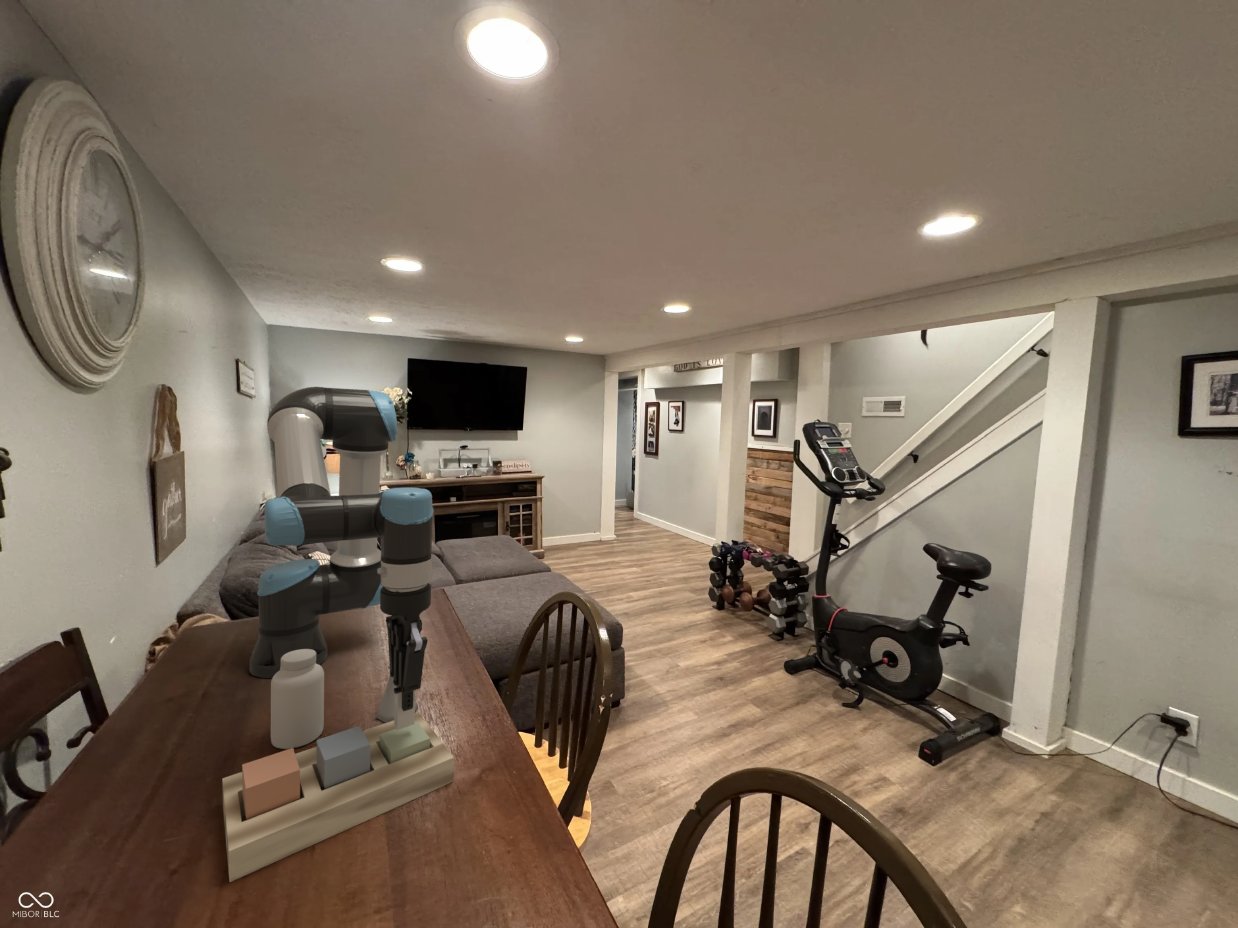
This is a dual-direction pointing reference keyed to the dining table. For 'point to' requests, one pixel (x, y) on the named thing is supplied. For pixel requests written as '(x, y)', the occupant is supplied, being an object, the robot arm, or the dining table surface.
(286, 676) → the pill bottle
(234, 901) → the dining table surface
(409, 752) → the button sage
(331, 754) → the button slate
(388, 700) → the flask
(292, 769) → the button terracotta
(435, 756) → the panel
